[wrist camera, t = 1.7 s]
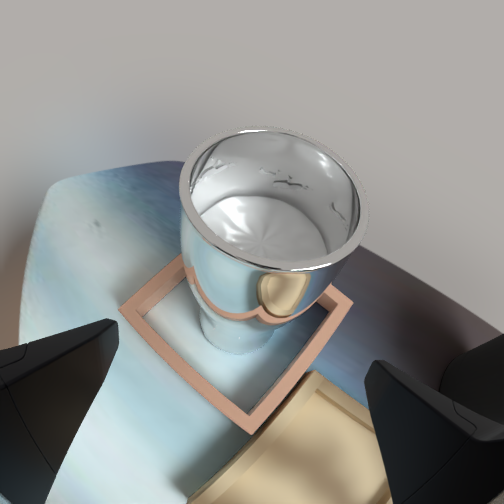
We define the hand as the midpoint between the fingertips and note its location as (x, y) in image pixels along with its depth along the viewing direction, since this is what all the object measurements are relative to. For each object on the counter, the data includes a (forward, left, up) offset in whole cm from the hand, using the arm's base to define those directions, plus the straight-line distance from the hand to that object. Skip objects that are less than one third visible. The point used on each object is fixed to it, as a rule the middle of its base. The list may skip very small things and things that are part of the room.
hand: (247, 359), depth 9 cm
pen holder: (+12, -21, -12) cm, 28 cm away
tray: (-3, -11, -12) cm, 17 cm away
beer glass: (+4, +3, -12) cm, 14 cm away
